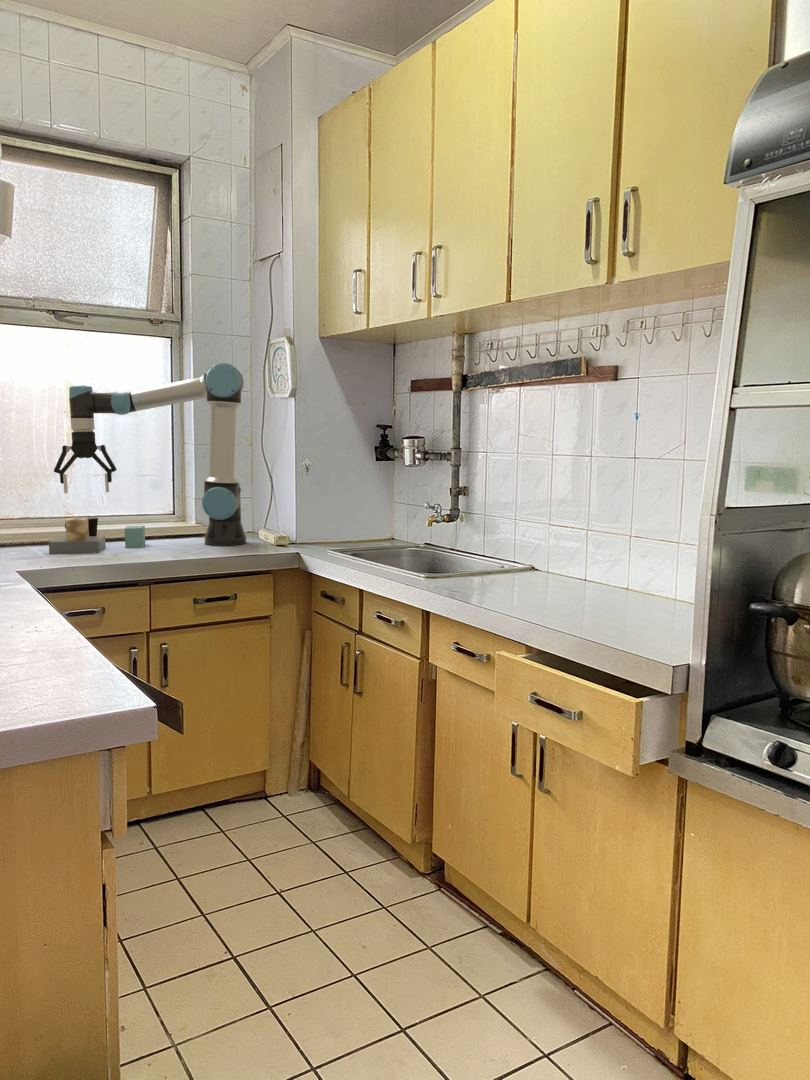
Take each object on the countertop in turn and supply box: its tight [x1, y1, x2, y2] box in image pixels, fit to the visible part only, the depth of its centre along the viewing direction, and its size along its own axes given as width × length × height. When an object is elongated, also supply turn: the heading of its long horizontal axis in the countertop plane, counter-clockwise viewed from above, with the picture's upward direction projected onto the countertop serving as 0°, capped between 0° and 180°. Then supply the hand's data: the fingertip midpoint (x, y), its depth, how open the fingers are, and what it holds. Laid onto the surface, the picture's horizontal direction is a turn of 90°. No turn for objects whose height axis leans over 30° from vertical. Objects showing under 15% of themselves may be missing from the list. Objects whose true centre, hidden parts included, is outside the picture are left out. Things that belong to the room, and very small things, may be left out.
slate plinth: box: [48, 535, 107, 555], centre depth 287 cm, size 16×14×4 cm
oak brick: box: [64, 517, 89, 541], centre depth 286 cm, size 6×8×7 cm
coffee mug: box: [64, 516, 99, 536], centre depth 300 cm, size 12×9×10 cm
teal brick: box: [124, 525, 146, 549], centre depth 299 cm, size 6×8×7 cm
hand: (86, 492), depth 286 cm, fingers open, 13 cm apart
